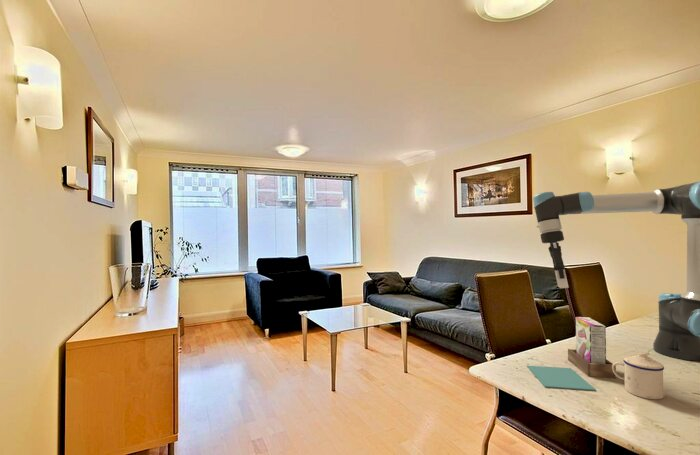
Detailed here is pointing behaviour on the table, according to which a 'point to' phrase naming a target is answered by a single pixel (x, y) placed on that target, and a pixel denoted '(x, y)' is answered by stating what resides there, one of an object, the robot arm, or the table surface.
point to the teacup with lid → (642, 376)
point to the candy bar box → (591, 340)
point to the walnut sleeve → (591, 366)
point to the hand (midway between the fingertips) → (563, 287)
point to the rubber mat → (560, 378)
